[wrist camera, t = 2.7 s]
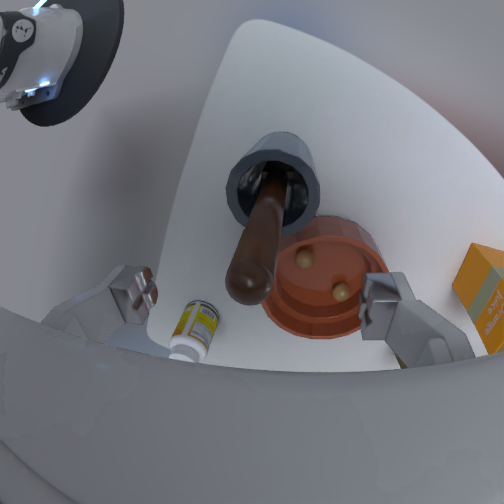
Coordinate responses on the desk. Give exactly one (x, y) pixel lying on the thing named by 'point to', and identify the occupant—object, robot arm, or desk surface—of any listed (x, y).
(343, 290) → the bead
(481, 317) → the orange juice
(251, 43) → the desk surface
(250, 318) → the desk surface
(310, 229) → the bowl
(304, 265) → the bead
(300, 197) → the crock
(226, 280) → the stir paddle
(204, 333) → the supplement bottle
